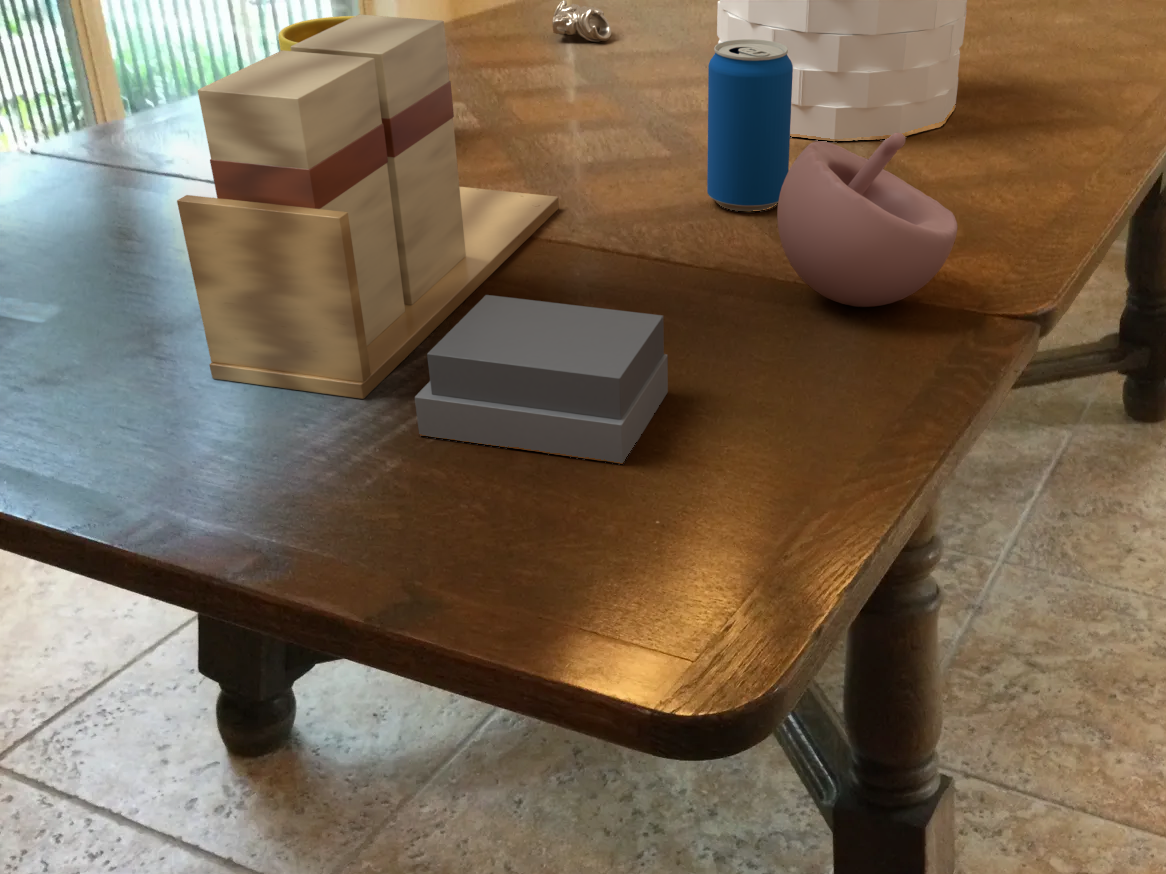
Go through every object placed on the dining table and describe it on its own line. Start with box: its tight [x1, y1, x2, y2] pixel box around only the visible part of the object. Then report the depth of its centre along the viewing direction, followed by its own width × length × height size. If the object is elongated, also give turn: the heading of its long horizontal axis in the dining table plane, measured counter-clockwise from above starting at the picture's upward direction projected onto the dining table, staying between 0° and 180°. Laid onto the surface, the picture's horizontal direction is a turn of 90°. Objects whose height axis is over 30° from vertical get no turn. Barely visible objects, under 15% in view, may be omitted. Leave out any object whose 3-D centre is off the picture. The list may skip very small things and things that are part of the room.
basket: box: [716, 0, 968, 139], centre depth 128 cm, size 25×24×19 cm
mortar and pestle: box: [776, 133, 958, 308], centre depth 90 cm, size 12×12×11 cm
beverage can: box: [706, 39, 793, 212], centre depth 106 cm, size 6×6×12 cm
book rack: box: [176, 13, 560, 400], centre depth 89 cm, size 10×34×17 cm, turn 166°
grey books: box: [414, 294, 669, 463], centre depth 77 cm, size 12×9×5 cm
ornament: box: [551, 0, 612, 43], centre depth 153 cm, size 8×7×4 cm
